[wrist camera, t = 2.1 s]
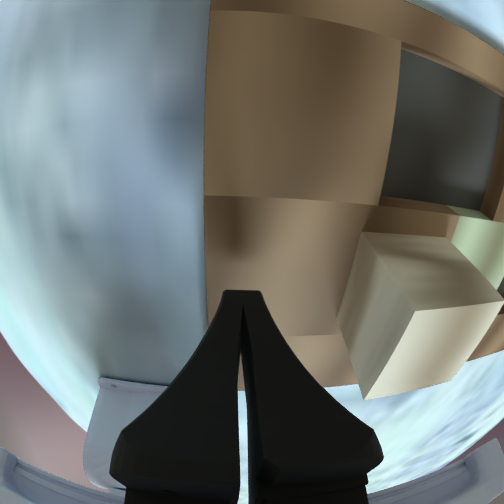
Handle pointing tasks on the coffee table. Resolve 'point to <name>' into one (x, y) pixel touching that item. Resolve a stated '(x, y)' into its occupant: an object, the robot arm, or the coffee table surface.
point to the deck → (344, 155)
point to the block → (412, 312)
